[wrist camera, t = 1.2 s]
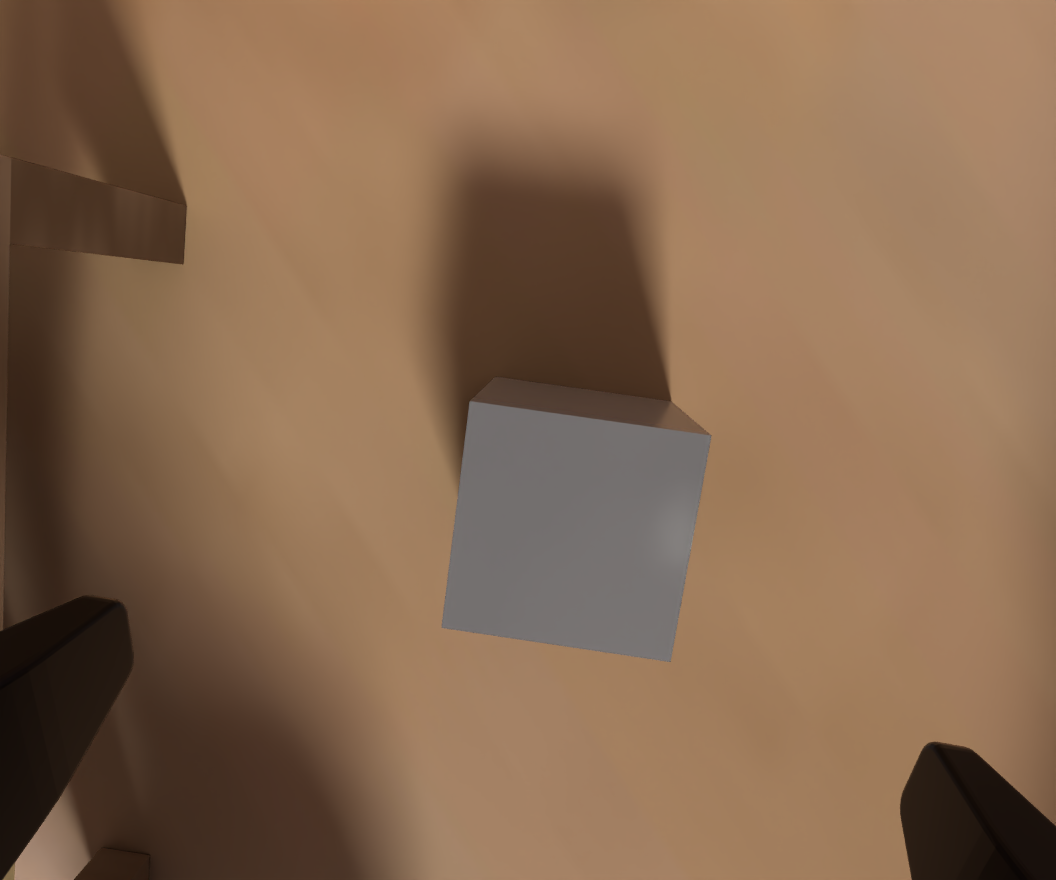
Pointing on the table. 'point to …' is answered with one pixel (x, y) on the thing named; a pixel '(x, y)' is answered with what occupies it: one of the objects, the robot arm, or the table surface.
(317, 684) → the table surface
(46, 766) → the robot arm
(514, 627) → the stone
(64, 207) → the frame
